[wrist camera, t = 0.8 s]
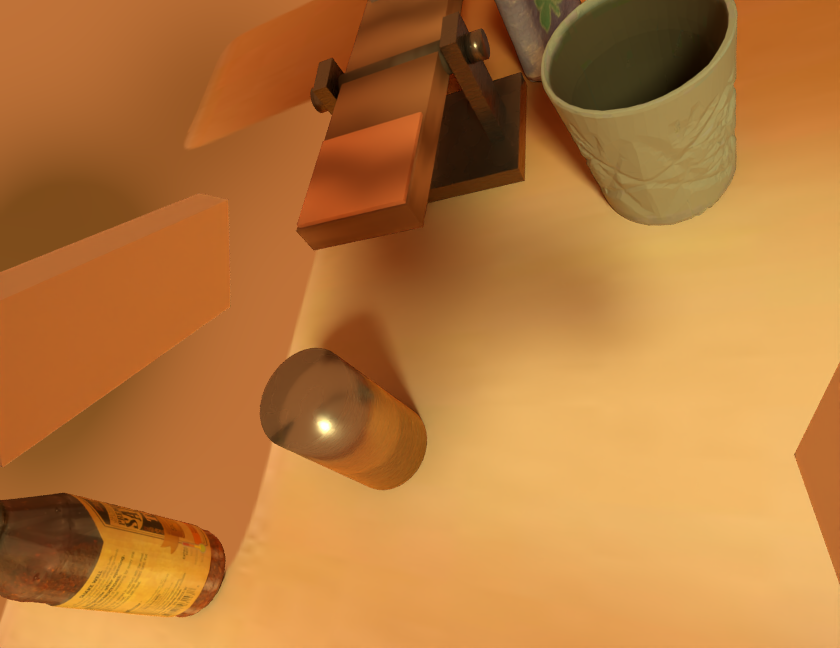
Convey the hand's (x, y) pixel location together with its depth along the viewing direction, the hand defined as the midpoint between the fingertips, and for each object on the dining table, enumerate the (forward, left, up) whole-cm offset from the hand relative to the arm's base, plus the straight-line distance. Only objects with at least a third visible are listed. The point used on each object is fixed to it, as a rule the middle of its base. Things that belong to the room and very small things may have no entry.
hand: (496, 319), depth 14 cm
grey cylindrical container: (-20, -13, -26) cm, 35 cm away
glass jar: (+6, -18, -26) cm, 32 cm away
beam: (-16, -31, -18) cm, 39 cm away
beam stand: (-16, -31, -26) cm, 43 cm away
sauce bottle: (+22, -25, -26) cm, 42 cm away
